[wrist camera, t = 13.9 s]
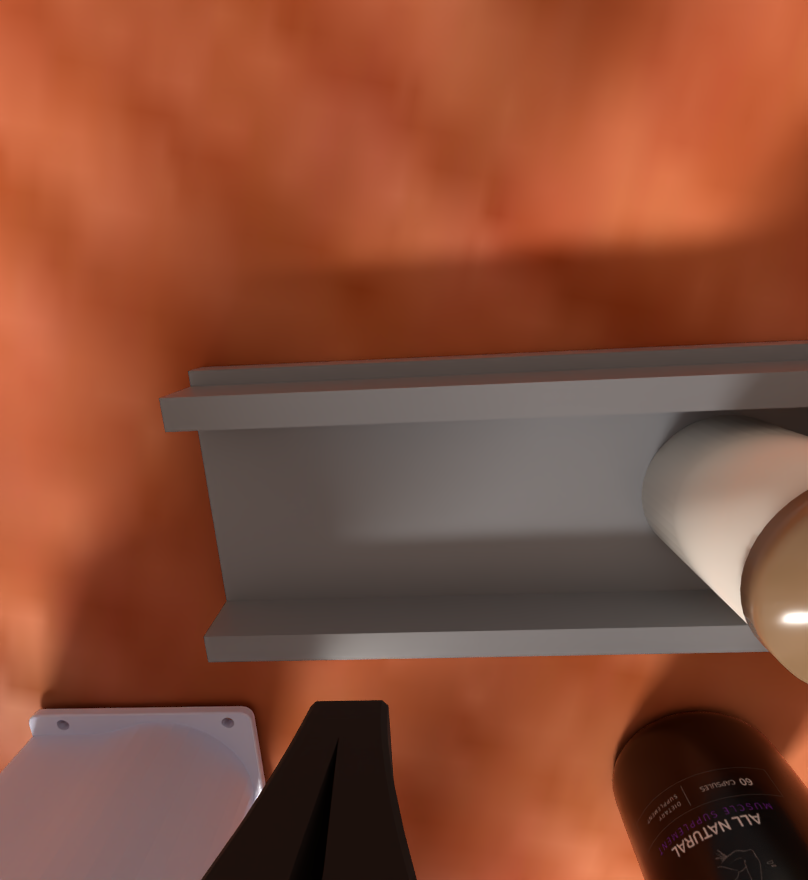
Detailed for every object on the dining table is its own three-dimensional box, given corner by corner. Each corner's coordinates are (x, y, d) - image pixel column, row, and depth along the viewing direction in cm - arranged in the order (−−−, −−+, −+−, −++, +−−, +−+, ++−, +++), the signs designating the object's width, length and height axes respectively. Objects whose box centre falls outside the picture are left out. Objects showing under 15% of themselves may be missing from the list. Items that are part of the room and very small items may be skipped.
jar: (641, 566, 17) (759, 708, 11) (635, 424, 16) (767, 499, 10) (795, 547, 17) (1003, 682, 11) (804, 399, 15) (1048, 462, 9)
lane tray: (241, 619, 19) (166, 753, 14) (201, 367, 17) (86, 401, 11) (867, 604, 18) (1074, 744, 13) (934, 334, 16) (1234, 353, 10)
